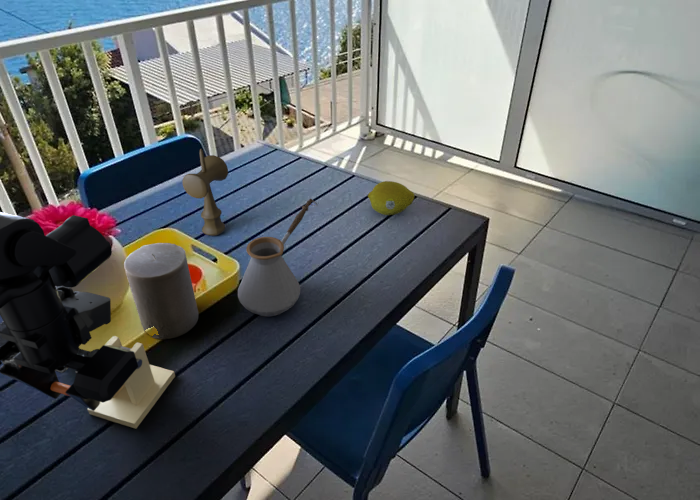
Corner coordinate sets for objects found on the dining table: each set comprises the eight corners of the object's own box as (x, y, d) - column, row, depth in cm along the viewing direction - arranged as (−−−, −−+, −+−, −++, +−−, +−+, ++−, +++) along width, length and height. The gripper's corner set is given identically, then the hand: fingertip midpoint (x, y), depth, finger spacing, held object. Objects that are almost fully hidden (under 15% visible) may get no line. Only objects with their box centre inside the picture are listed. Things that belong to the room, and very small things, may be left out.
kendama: (236, 222, 115) (225, 141, 103) (215, 245, 108) (202, 161, 96) (212, 217, 116) (199, 137, 105) (191, 240, 109) (174, 156, 97)
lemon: (363, 216, 118) (364, 187, 114) (372, 200, 125) (374, 172, 120) (407, 225, 116) (410, 195, 111) (414, 209, 122) (418, 179, 117)
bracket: (136, 428, 71) (119, 384, 66) (89, 414, 73) (68, 370, 67) (175, 376, 79) (163, 332, 73) (132, 364, 81) (117, 320, 75)
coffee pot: (277, 332, 87) (271, 265, 78) (226, 309, 92) (215, 243, 83) (338, 267, 103) (339, 205, 94) (291, 250, 107) (288, 189, 98)
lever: (86, 407, 62) (86, 391, 62) (50, 396, 63) (49, 380, 63) (144, 366, 72) (144, 351, 72) (111, 357, 74) (111, 343, 73)
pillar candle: (160, 348, 84) (140, 279, 75) (132, 319, 89) (110, 252, 80) (210, 319, 90) (196, 252, 81) (180, 294, 95) (164, 228, 86)
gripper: (151, 285, 59) (175, 372, 68) (23, 255, 63) (62, 341, 73) (85, 353, 51) (123, 442, 60) (-58, 313, 55) (-2, 401, 64)
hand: (76, 401), depth 64 cm, fingers closed on lever, 5 cm apart
